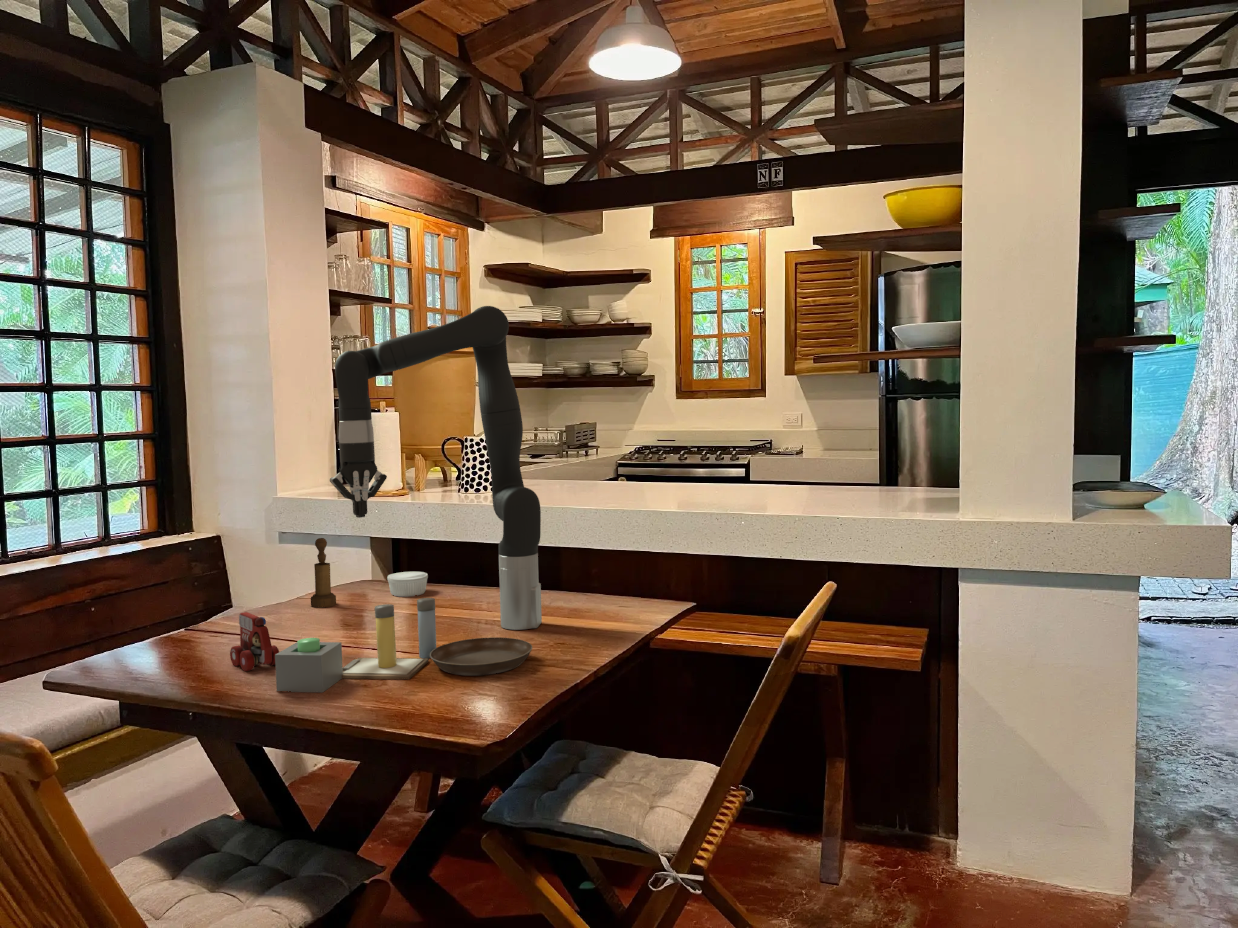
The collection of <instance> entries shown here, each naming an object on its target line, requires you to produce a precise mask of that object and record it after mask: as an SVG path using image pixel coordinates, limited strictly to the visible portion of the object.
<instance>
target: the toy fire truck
mask: <svg viewBox="0 0 1238 928" xmlns="http://www.w3.org/2000/svg"><path fill="white" fill-rule="evenodd" d="M266 623H267V621H266V618H265V617H262V616H258V615H256V614H252V613H250V612H248V611H245V612H241V613H239V615H238V624H239V633H240V634H239V635H240V636H239V637H240V639H239V641H240V643H239V644H240V645H234V646H232V647H231V648H230V650H229V656H230V662H231V664H232V665H233V666H234V667H238V666H240V667H241V670H242V671H244V672H249V671H252V670H254V667H256V666H257V665H261V664H262V665H269V666H275V655H276V654H277V653H279V652H280V650H279V647H278V646H276V645H274V644H273V645H272V643H271V642H272V641H271V637H270V632H269V629H268V627H267V626H266V625H267V624H266Z"/></svg>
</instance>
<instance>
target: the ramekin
mask: <svg viewBox="0 0 1238 928" xmlns="http://www.w3.org/2000/svg"><path fill="white" fill-rule="evenodd" d="M428 578H429V575H428V573H427V572H424V571H403V572H402V571H401V572H396V573H390V574H388V575H387V578H386V579H387V581H388V585H389V592H390V594H391V595H392V596H393V595H394V597H402V598H405V597H406V598H407V597H408V598H409V597H416V596H415V595H417V596H420V595H421V596H422V595H423V594H425V592H426V589H427V585H428V584H427V583H428Z"/></svg>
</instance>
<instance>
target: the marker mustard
mask: <svg viewBox="0 0 1238 928" xmlns="http://www.w3.org/2000/svg"><path fill="white" fill-rule="evenodd" d="M374 616H375V632H376V650H377V651H376V652H377V658H378V667H380V668H389V667H394V666H396V665H397V661H396V658H397V647H396V646H397V645H396V630H395V629H396V626H395V605H394V604H392V603H391V604H389V603H388V604H387V603H385V604H378V605H375V606H374Z"/></svg>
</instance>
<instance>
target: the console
mask: <svg viewBox="0 0 1238 928" xmlns="http://www.w3.org/2000/svg"><path fill="white" fill-rule="evenodd" d="M342 647H343V646H342V642H339V641H335V642H334V641H332V642H331V641H320V650H318V651H317V652H298V642H294V643H293V644H292V645H290V646H287V647H286V648H284V649H282V650H281V651H279V653H277V654H276V655H275V665H274V667H275V681H276V685H275V686H276V692H277V691H288V692H289V691H291V692H289V693H324V692H325V691H327V690H328V689H330V688H331V687H332V686H333V685H335V684H336V683H337V682H339V681H341V680H342V679H343V678H342V675H343V667H344V666H343V651H342V650H343V649H342ZM288 692H287V693H288Z"/></svg>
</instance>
